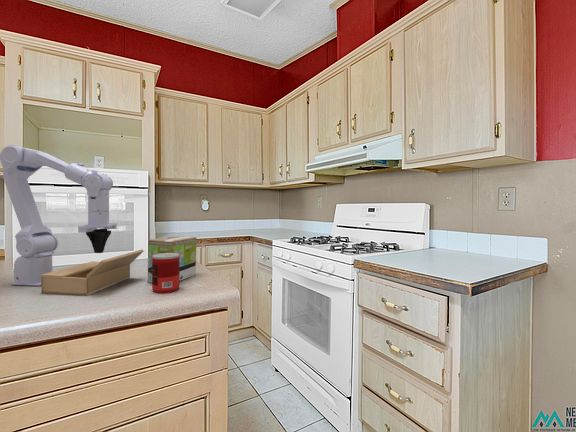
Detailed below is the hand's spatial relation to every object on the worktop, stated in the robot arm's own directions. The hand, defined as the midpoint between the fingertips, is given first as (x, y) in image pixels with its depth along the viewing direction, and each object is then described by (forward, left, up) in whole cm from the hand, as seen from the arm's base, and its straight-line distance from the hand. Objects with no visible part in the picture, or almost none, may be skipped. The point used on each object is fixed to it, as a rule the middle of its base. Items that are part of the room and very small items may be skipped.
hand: (98, 252), depth 95 cm
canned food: (+24, -2, -11) cm, 26 cm away
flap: (+7, -1, -2) cm, 8 cm away
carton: (-2, -1, -10) cm, 11 cm away
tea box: (+20, +11, -11) cm, 25 cm away
